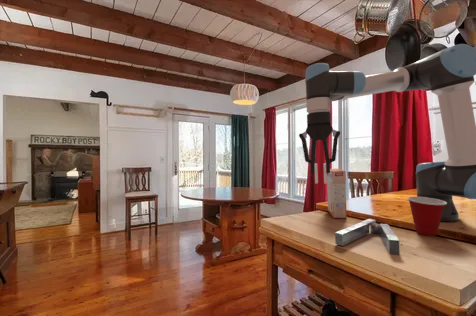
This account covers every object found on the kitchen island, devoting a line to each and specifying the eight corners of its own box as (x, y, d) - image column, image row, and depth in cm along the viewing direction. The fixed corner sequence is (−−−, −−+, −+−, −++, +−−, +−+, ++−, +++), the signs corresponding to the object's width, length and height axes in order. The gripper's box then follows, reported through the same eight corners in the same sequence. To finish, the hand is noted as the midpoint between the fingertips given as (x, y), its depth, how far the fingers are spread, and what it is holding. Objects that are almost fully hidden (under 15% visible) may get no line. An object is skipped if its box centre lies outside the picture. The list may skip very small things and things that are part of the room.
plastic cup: (451, 240, 77) (450, 203, 77) (409, 235, 83) (408, 200, 82) (444, 230, 86) (443, 196, 86) (407, 226, 92) (406, 195, 92)
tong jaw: (376, 230, 89) (375, 219, 89) (342, 246, 76) (342, 234, 76) (369, 228, 91) (368, 218, 91) (335, 243, 78) (335, 232, 78)
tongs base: (385, 231, 88) (385, 220, 88) (399, 254, 69) (399, 240, 69) (370, 230, 90) (369, 219, 89) (379, 252, 71) (378, 238, 71)
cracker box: (347, 218, 105) (346, 170, 105) (332, 218, 107) (331, 171, 106) (340, 210, 119) (339, 168, 119) (327, 210, 120) (326, 168, 120)
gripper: (343, 111, 82) (345, 181, 82) (296, 116, 87) (299, 181, 88) (343, 108, 75) (346, 184, 75) (293, 113, 80) (296, 184, 81)
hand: (321, 182), depth 82 cm, fingers open, 2 cm apart
